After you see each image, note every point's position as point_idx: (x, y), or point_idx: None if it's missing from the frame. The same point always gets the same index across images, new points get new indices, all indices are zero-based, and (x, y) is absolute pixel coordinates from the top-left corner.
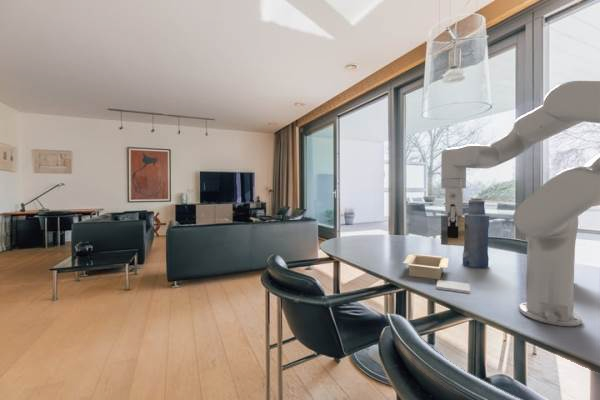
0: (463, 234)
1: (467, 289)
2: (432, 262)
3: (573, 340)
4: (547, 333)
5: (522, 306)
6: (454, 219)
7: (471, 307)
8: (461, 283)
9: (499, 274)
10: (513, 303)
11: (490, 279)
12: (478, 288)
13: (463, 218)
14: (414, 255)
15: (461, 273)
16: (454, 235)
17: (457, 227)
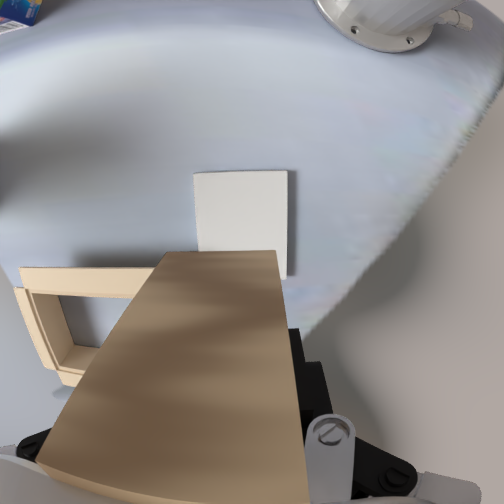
0: (282, 306)
1: (272, 178)
2: (49, 310)
3: (473, 17)
4: (471, 46)
5: (376, 39)
6: (464, 480)
7: (411, 173)
8: (206, 200)
9: (19, 100)
10: (320, 50)
11: (78, 113)
12: (208, 141)
13: (301, 476)
14: (62, 371)
15: (59, 209)
16: (320, 364)
17: (311, 406)
